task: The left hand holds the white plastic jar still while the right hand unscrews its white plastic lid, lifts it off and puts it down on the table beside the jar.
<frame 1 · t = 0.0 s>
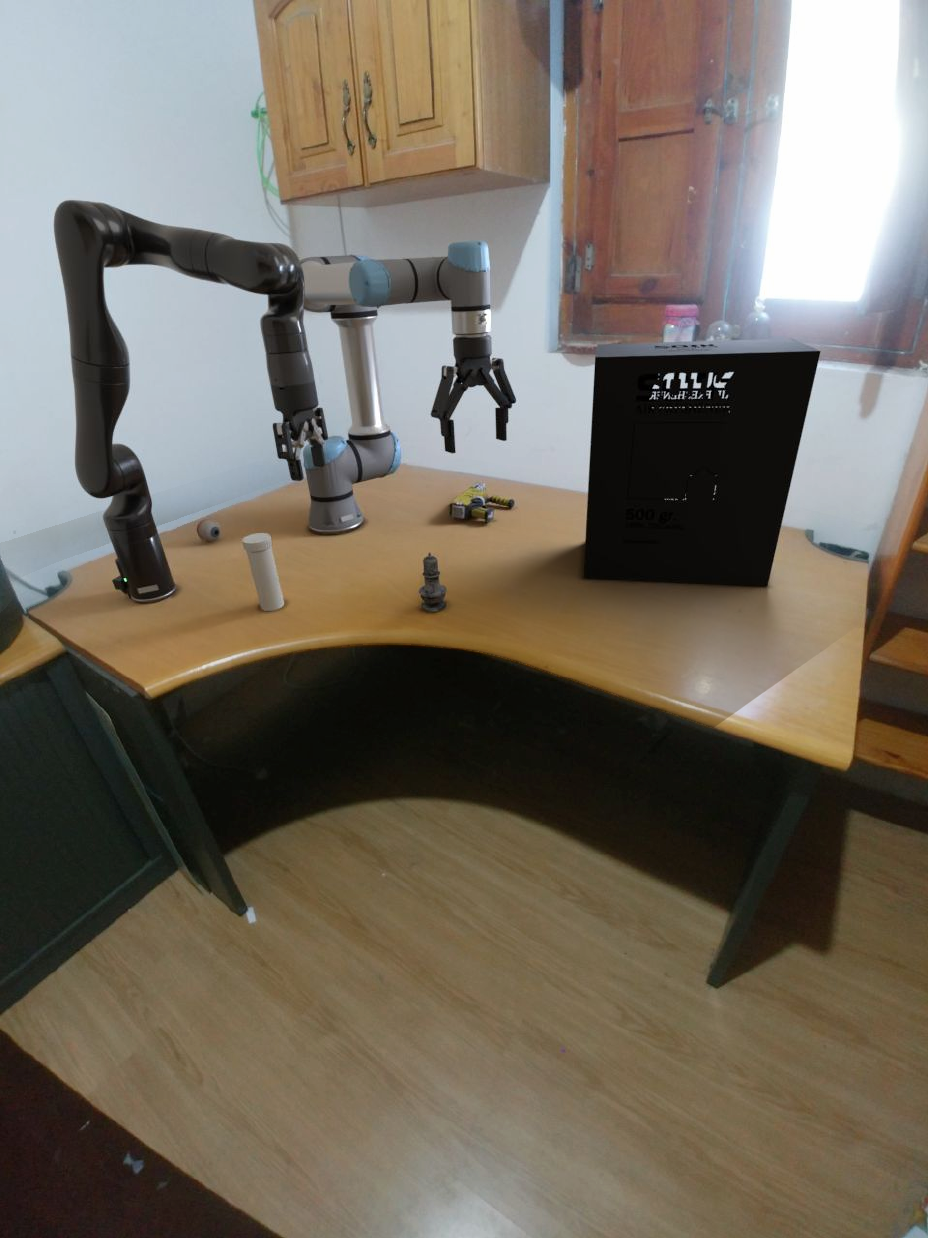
left hand: (309, 473, 111), 29 cm above the table, tool pointing down, fingers open, 8 cm apart
right hand: (476, 445, 127), 28 cm above the table, tool pointing down, fingers open, 13 cm apart
jar: (272, 605, 129), on the table
dark grey chess piece: (434, 606, 125), on the table
lid: (256, 539, 122), point 15 cm above the table, screwed on, not yet turned
cardboard box: (668, 562, 138), on the table
toy gun: (486, 509, 174), on the table
eyeball: (212, 541, 164), on the table
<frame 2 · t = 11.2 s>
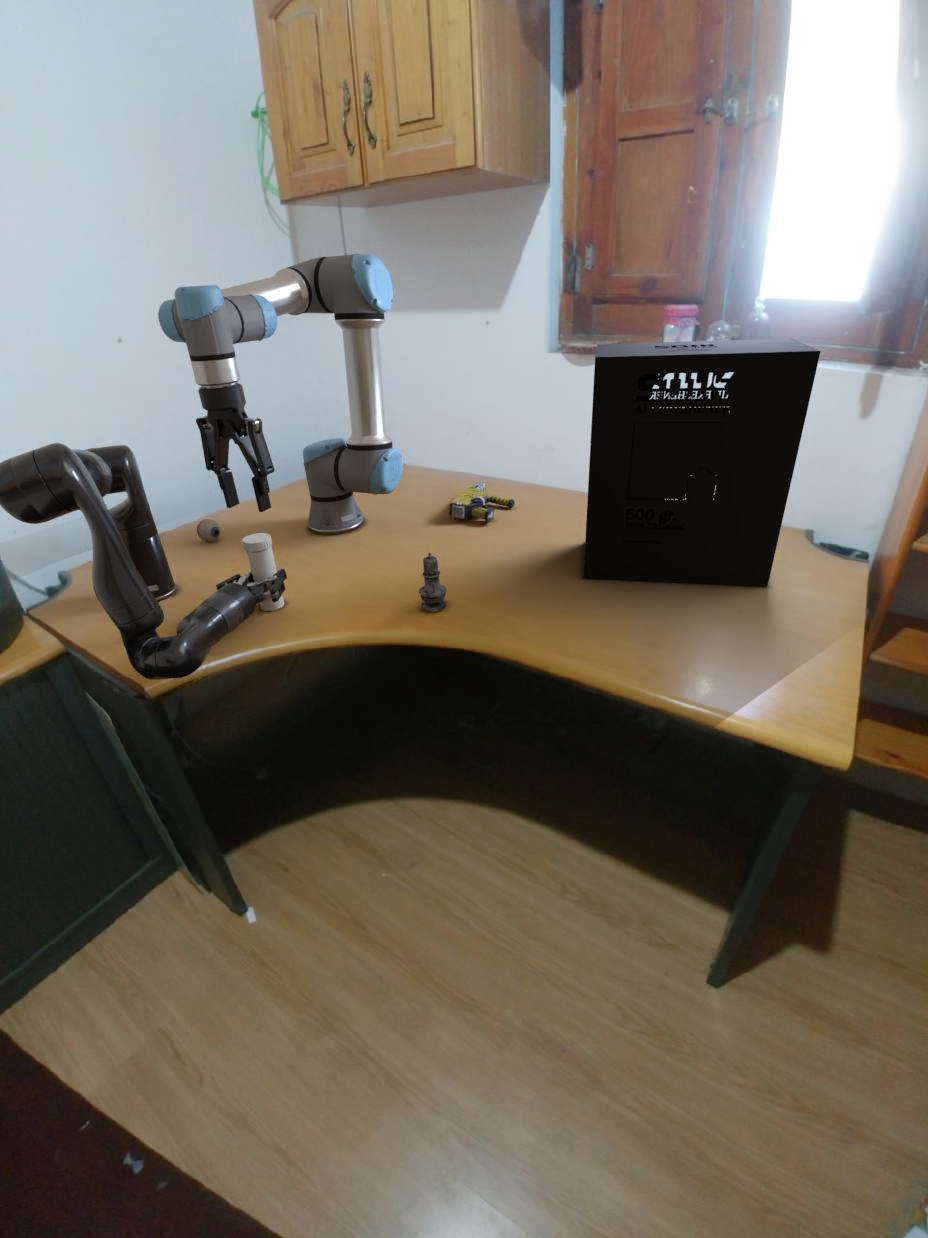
left hand: (272, 572, 128), 7 cm above the table, tool horizontal, fingers closed on jar, 5 cm apart
right hand: (249, 507, 118), 22 cm above the table, tool pointing down, fingers open, 7 cm apart
jar: (272, 605, 129), on the table, touching left hand
everything else where it was.
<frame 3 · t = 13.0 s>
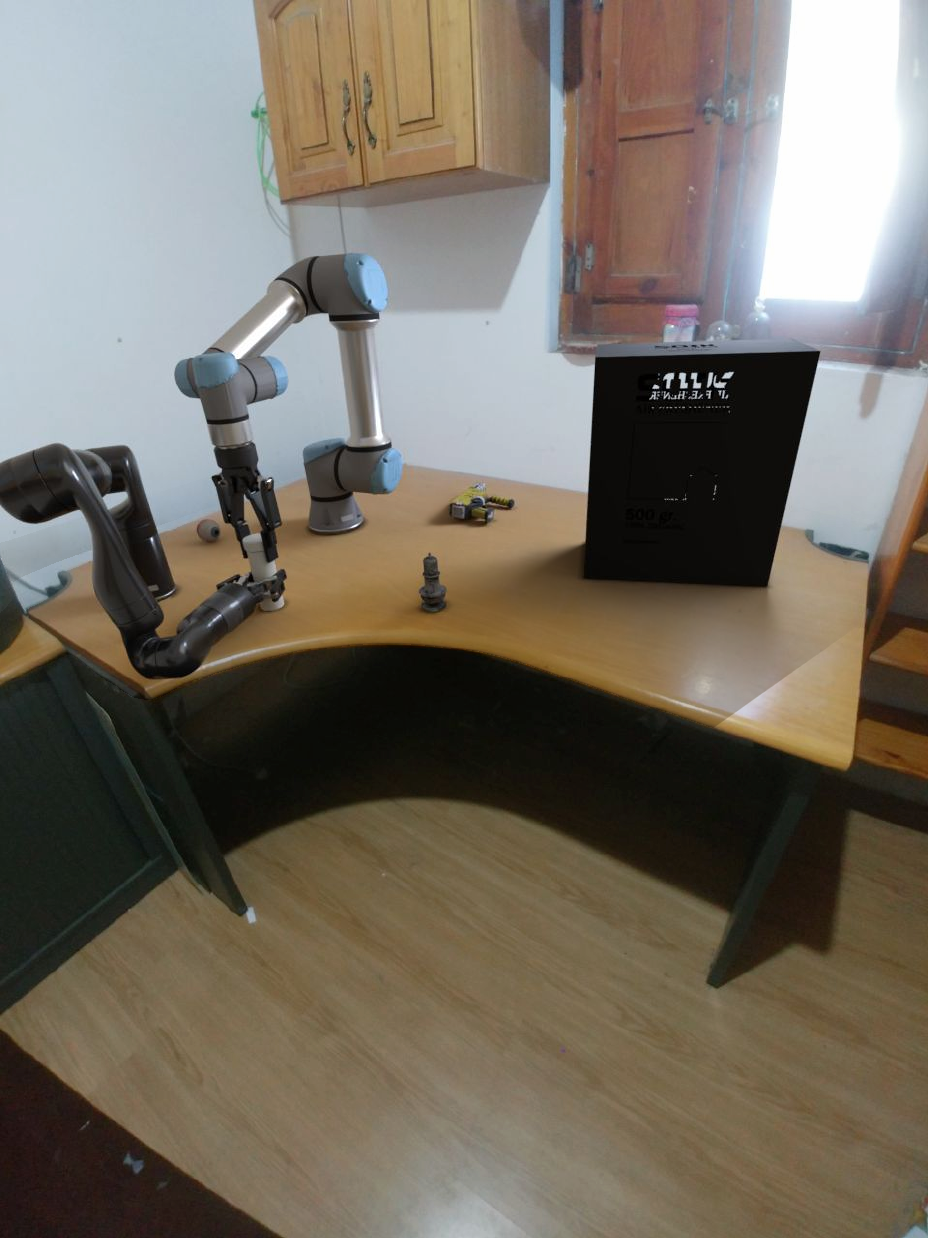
left hand: (272, 572, 128), 7 cm above the table, tool horizontal, fingers closed on jar, 5 cm apart
right hand: (261, 557, 124), 11 cm above the table, tool pointing down, fingers closed on lid, 5 cm apart
jar: (272, 605, 129), on the table, touching left hand
lid: (256, 539, 122), point 15 cm above the table, screwed on, not yet turned, touching right hand
everything else where it was.
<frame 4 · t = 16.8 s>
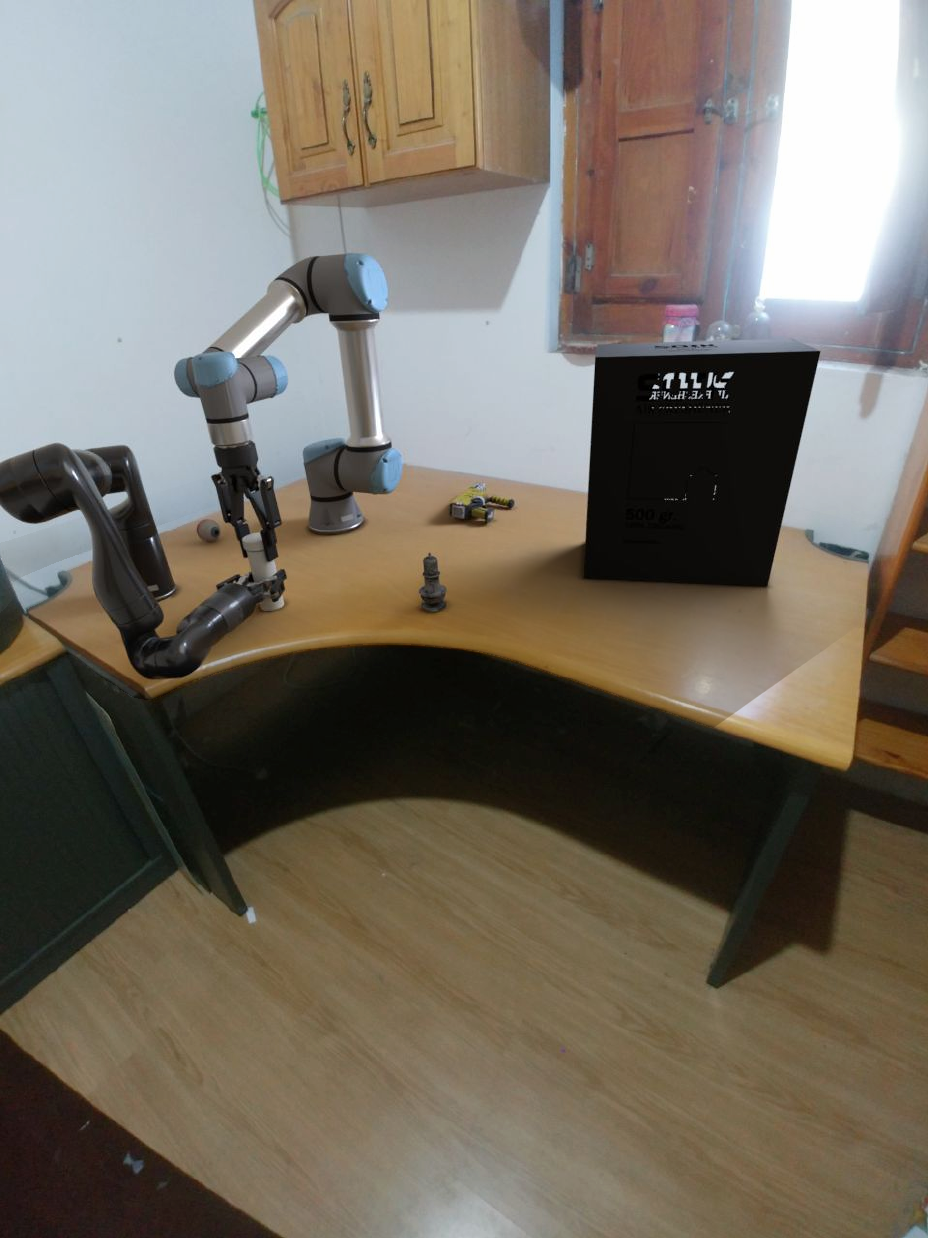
left hand: (272, 572, 128), 7 cm above the table, tool horizontal, fingers closed on jar, 5 cm apart
right hand: (260, 556, 124), 11 cm above the table, tool pointing down, fingers closed on lid, 5 cm apart
jar: (272, 605, 129), on the table, touching left hand
lid: (256, 538, 122), point 15 cm above the table, turned 127° so far, risen 0.2 cm, still on its thread, touching right hand
everything else where it was.
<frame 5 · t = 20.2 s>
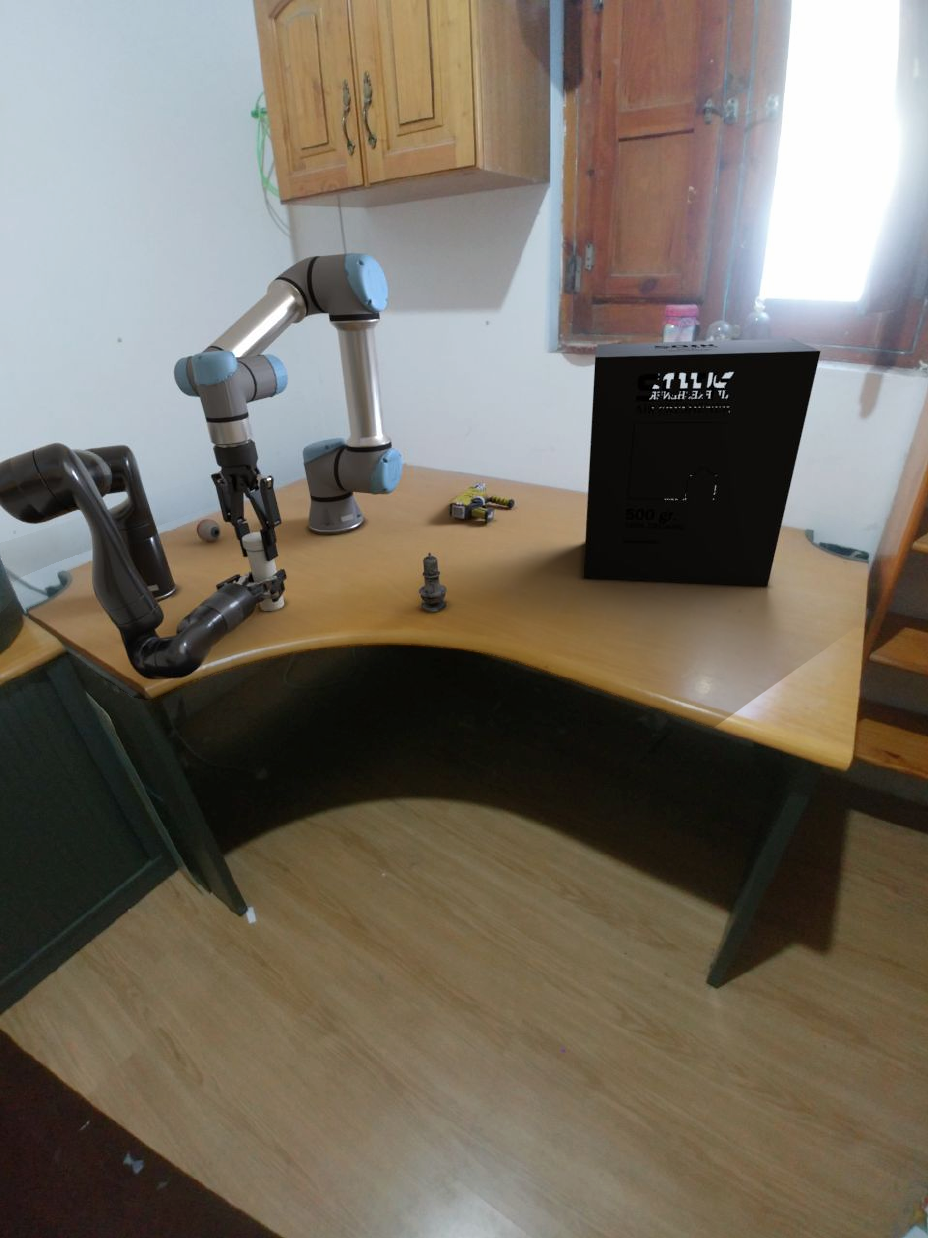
left hand: (272, 572, 128), 7 cm above the table, tool horizontal, fingers closed on jar, 5 cm apart
right hand: (260, 556, 124), 12 cm above the table, tool pointing down, fingers closed on lid, 5 cm apart
jar: (272, 605, 129), on the table, touching left hand
lid: (256, 538, 122), point 16 cm above the table, turned 253° so far, risen 0.3 cm, still on its thread, touching right hand
everything else where it was.
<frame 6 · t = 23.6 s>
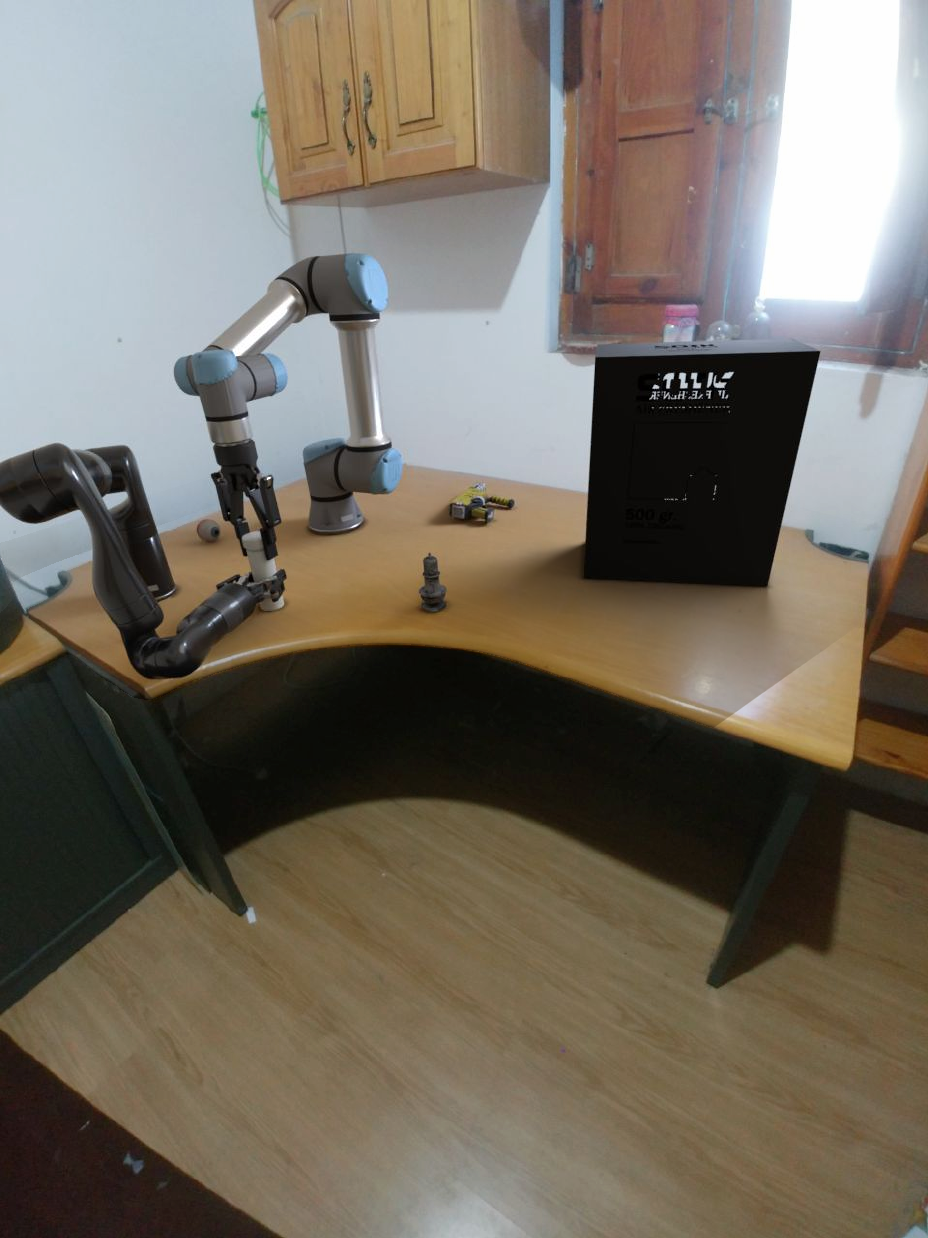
left hand: (272, 572, 128), 7 cm above the table, tool horizontal, fingers closed on jar, 5 cm apart
right hand: (260, 555, 124), 12 cm above the table, tool pointing down, fingers closed on lid, 5 cm apart
jar: (272, 605, 129), on the table, touching left hand
lid: (256, 537, 122), point 16 cm above the table, turned 380° so far, risen 0.5 cm, still on its thread, touching right hand
everything else where it was.
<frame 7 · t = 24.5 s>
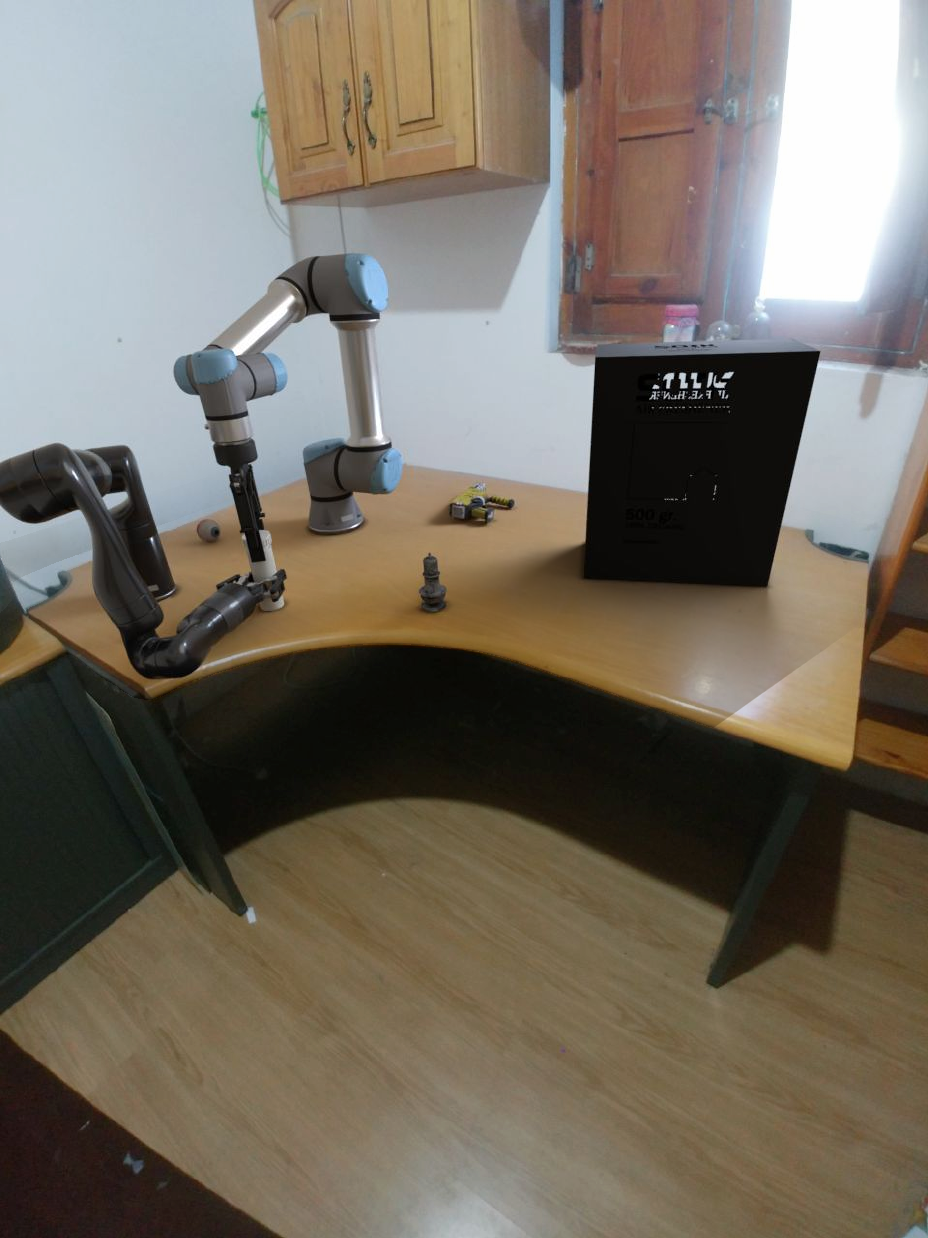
left hand: (272, 572, 128), 7 cm above the table, tool horizontal, fingers closed on jar, 5 cm apart
right hand: (260, 554, 124), 12 cm above the table, tool pointing down, fingers closed on lid, 5 cm apart
jar: (272, 605, 129), on the table, touching left hand
lid: (256, 536, 122), point 16 cm above the table, off its thread, touching right hand
everything else where it was.
when the right hand's fingers open (0 cm above the table, at t = 30.7 s): lid drops 2 cm, point 2 cm above the table.
when the left hand's fingers open (7 cm above the table, at t = 31.9 s): jar stays where it is, on the table.
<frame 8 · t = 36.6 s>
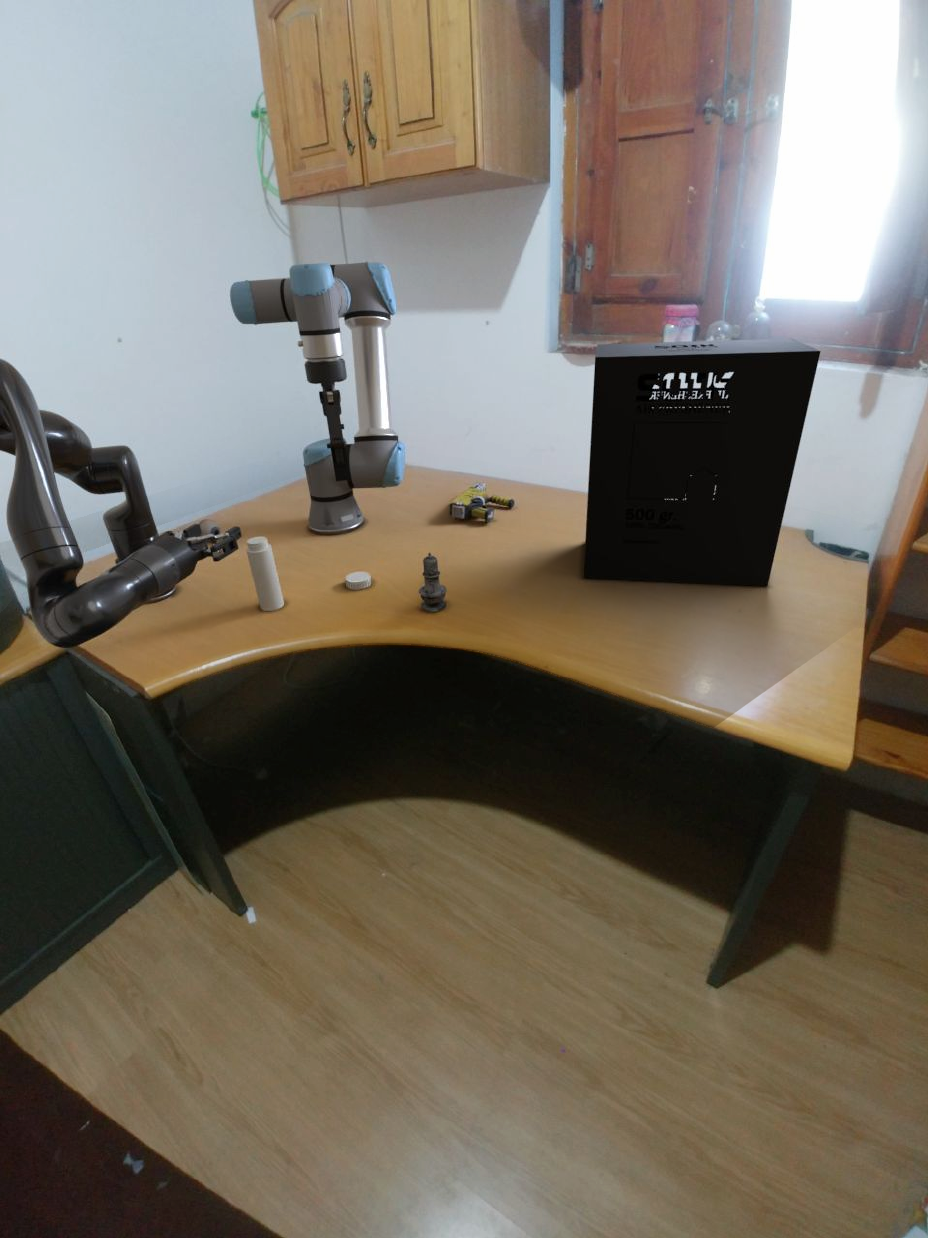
left hand: (218, 529, 110), 21 cm above the table, tool horizontal, fingers open, 8 cm apart
right hand: (341, 470, 124), 26 cm above the table, tool pointing down, fingers open, 13 cm apart
jar: (272, 605, 129), on the table
lid: (358, 578, 135), point 2 cm above the table, off its thread
everything else where it was.
at the end: lid came off its thread; lid point 1.5 cm above the table; the left hand is holding nothing; the right hand is holding nothing; jar tilted 0°; jar moved 0.0 cm from its start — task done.
